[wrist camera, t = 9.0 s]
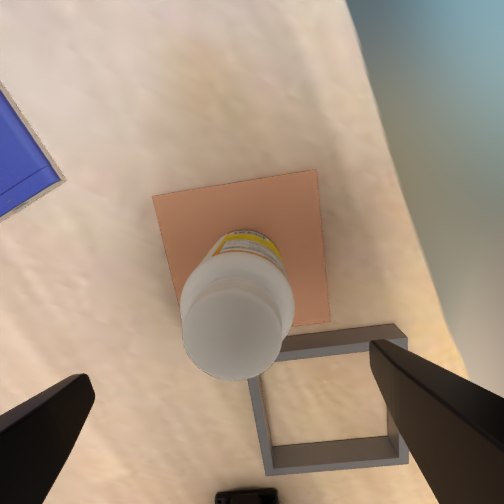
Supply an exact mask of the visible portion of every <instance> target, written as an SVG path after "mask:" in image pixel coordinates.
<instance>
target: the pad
mask: <svg viewBox="0 0 504 504" xmlns="http://www.w3.org/2000/svg"><path fill="white" fill-rule="evenodd" d="M152 198H153V202H154V206H155V210H156V214H157V218H158V222H159V226H160V230H161V235H162V239H163V243H164V247H165V251H166V255H167V259H168V263H169V267H170V271H171V275H172V279H173V283H174V287H175V291H176V296H177V300H178V304H179V308H180V298H181V294H182V290H183V288H184V285H185V283H186V281H187V279H188V278H189V276H190V275H191V273H192V272H193V271H194V269H195V268H196V267H197V266H198V264H199V263H200V262H201V261H202V259H203V258H204V257H205V256H206V254H207V253H208V252H209V251H210V249H211V248H212V247H213V245H214V244H215V243H216V242H217V241H218V240H219V239H220V238H221V237H222V236H224V235H225V234H227V233H229V232H232V231H235V230H240V229H249V230H255V231H258V232H260V233H262V234H264V235H265V236H267V237H268V238H269V239H270V240H272V242H273V243H274V244H275V245H276V247H277V248H278V250H279V253H280V255H281V259H282V262H283V265H284V268H285V271H286V274H287V277H288V280H289V283H290V286H291V289H292V292H293V297H294V304H295V312H294V319H293V322H292V326H300V325H309V324H317V323H325V322H330V314H329V303H328V292H327V281H326V270H325V259H324V248H323V237H322V226H321V215H320V204H319V193H318V182H317V171H316V169H315V170H309V171H303V172H297V173H291V174H284V175H278V176H272V177H266V178H260V179H254V180H248V181H242V182H236V183H229V184H223V185H217V186H211V187H205V188H199V189H193V190H187V191H181V192H175V193H168V194H162V195H156V196H152ZM292 326H291V327H292Z"/></svg>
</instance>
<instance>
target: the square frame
mask: <svg viewBox="0 0 504 504" xmlns="http://www.w3.org/2000/svg"><path fill="white" fill-rule="evenodd" d="M375 339H386V340H388V341H390V342H392V343H394V344H396V345H398V346H400V347H402V348H404V349H406V350H408V337H407V336H406V335H405V334H404V333H403V332H402V331H401V330H400V329H399V328H398V327H397V326H396V325H395V324H387V325H379V326H371V327H362V328H354V329H346V330H338V331H329V332H321V333H313V334H305V335H296V336H288V337H285V338H284V340H283V341H282V345H281V349H280V352H279V354H278V356H277V358H276V360H275V361H274V362H278V361H287V360H296V359H304V358H313V357H322V356H330V355H339V354H348V353H356V352H365V351H369V342H370V341H371V340H375ZM248 384H249V390H250V395H251V400H252V406H253V411H254V416H255V421H256V427H257V432H258V437H259V443H260V448H261V453H262V458H263V464H264V469H265V474H266V476H274V475H286V474H298V473H309V472H321V471H333V470H344V469H356V468H368V467H380V466H391V465H403V464H409V449H408V447H407V445H406V443H405V441H404V440H403V438H402V436H401V434H400V432H399V431H398V429H397V427H396V425H395V423H394V421H393V419H392V416H391V414H390V412H389V410H388V407H387V422H388V436H383V437H372V438H361V439H351V440H340V441H329V442H318V443H308V444H297V445H286V446H275V447H272V442H271V436H270V430H269V425H268V419H267V413H266V407H265V402H264V396H263V390H262V385H261V379H260V374H259V375H257V376H255V377H252V378H249V379H248Z"/></svg>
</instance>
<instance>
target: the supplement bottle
mask: <svg viewBox="0 0 504 504" xmlns="http://www.w3.org/2000/svg"><path fill="white" fill-rule="evenodd" d="M294 312H295V304H294V297H293V292H292V289H291V286H290V283H289V280H288V277H287V274H286V271H285V268H284V265H283V262H282V259H281V255H280V253H279V250H278V248H277V247H276V245H275V244H274V243H273V242H272V240H270V239H269V238H268V237H267V236H265V235H264V234H262V233H260V232H258V231H255V230H249V229H240V230H235V231H232V232H229V233H227V234H225V235H224V236H222V237H221V238H220V239H219V240H218V241H217V242H216V243H215V244H214V245H213V247H212V248H211V249H210V251H209V252H208V253H207V254H206V256H205V257H204V258H203V259H202V261H201V262H200V263H199V264H198V266H197V267H196V268H195V269H194V271H193V272H192V273H191V275H190V276H189V278H188V279H187V281H186V283H185V285H184V288H183V290H182V294H181V298H180V314H181V319H182V322H183V329H182V339H183V344H184V347H185V350H186V352H187V354H188V356H189V358H190V359H191V360H192V362H193V363H194V364H195V365H196V366H197V367H198V368H199V369H201V370H202V371H204V372H205V373H207V374H209V375H211V376H213V377H216V378H219V379H223V380H231V381H236V380H245V379H249V378H252V377H255V376H257V375H259V374H261V373H262V372H264V371H265V370H267V369H268V368H269V367H270V366H271V365H272V364H273V362H274V361H275V360H276V358H277V356H278V354H279V352H280V349H281V345H282V341H283V340H284V338H285V337H286V336H287V334H288V332H289V330H290V328H291V326H292V322H293V319H294Z"/></svg>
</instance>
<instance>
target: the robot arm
mask: <svg viewBox="0 0 504 504" xmlns="http://www.w3.org/2000/svg"><path fill="white" fill-rule="evenodd" d="M369 354H370V367H371V370H372V373H373V375H374V378H375V380H376V382H377V384H378V387H379V389H380V391H381V394H382V396H383V398H384V400H385V403H386V405H387V407H388V410H389V412H390V414H391V416H392V419H393V421H394V423H395V425H396V427H397V429H398V431H399V432H400V434H401V436H402V438H403V440H404V441H405V443H406V445H407V447H408V449H409V450H410V452H411V454H412V456H413V458H414V459H415V461H416V463H417V465H418V466H419V468H420V470H421V472H422V474H423V475H424V477H425V479H426V481H427V483H428V484H429V486H430V488H431V490H432V492H433V493H434V495H435V497H436V499H437V500H438V502H439V504H504V398H502V397H500V396H498V395H496V394H494V393H492V392H490V391H488V390H486V389H484V388H482V387H480V386H478V385H476V384H474V383H472V382H470V381H468V380H466V379H464V378H462V377H460V376H458V375H456V374H454V373H452V372H450V371H448V370H446V369H444V368H442V367H440V366H438V365H436V364H434V363H432V362H430V361H428V360H426V359H424V358H422V357H420V356H418V355H416V354H414V353H412V352H410V351H408V350H406V349H404V348H402V347H400V346H398V345H396V344H394V343H392V342H390V341H388V340H386V339H375V340H371V341H370V342H369ZM94 401H95V392H94V390H93V387H92V384H91V382H90V379H89V376H88V375H87V374H84V373H83V374H75V375H71V376H69V377H67V378H66V379H64V380H62V381H60V382H59V383H57V384H55V385H53V386H52V387H50V388H48V389H46V390H45V391H43V392H41V393H39V394H37V395H36V396H34V397H32V398H30V399H29V400H27V401H25V402H23V403H22V404H20V405H18V406H16V407H14V408H13V409H11V410H9V411H7V412H6V413H4V414H2V415H0V504H43V502H44V500H45V498H46V496H47V495H48V493H49V491H50V489H51V487H52V486H53V484H54V482H55V480H56V479H57V477H58V475H59V473H60V471H61V470H62V468H63V466H64V464H65V462H66V460H67V459H68V457H69V455H70V453H71V451H72V449H73V447H74V444H75V442H76V440H77V438H78V436H79V434H80V432H81V429H82V427H83V425H84V423H85V421H86V419H87V416H88V414H89V412H90V410H91V408H92V406H93V404H94ZM215 504H280V503H279V497H278V492H277V491H276V490H273V489H271V490H259V491H247V492H235V493H222V494H217V495H216V496H215Z"/></svg>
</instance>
